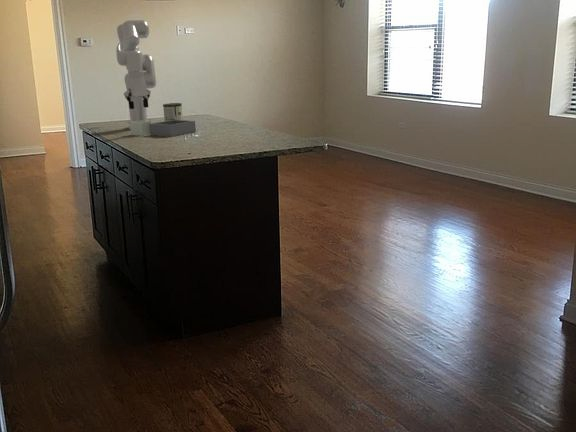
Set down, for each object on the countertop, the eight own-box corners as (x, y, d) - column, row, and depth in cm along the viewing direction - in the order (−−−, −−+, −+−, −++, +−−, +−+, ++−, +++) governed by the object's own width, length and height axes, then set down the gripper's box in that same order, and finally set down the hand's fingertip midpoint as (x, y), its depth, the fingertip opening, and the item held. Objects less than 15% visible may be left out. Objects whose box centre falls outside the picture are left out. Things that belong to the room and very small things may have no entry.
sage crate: (130, 135, 341) (129, 122, 339) (141, 133, 346) (139, 120, 344) (142, 136, 336) (140, 122, 334) (152, 134, 341) (150, 121, 339)
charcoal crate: (150, 135, 337) (149, 123, 335) (175, 130, 351) (174, 119, 349) (171, 136, 327) (170, 125, 326) (195, 132, 341) (195, 120, 340)
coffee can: (168, 128, 363) (165, 103, 360) (185, 127, 362) (183, 102, 359) (162, 130, 354) (160, 105, 350) (180, 130, 352) (178, 104, 349)
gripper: (143, 74, 342) (146, 106, 346) (117, 76, 328) (121, 109, 332) (153, 74, 337) (156, 106, 341) (127, 75, 324) (130, 109, 328)
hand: (138, 108), depth 337 cm, fingers open, 9 cm apart
